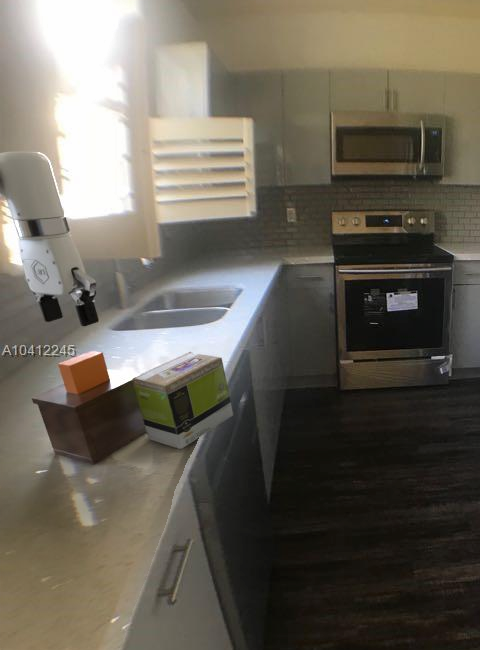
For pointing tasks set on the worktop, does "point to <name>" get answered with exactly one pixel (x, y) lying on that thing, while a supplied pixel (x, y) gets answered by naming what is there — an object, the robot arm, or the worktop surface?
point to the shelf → (92, 418)
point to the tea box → (183, 398)
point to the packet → (84, 372)
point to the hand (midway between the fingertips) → (72, 321)
